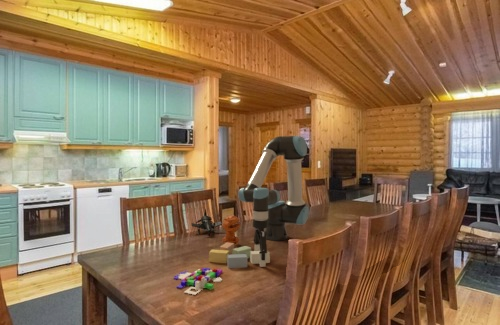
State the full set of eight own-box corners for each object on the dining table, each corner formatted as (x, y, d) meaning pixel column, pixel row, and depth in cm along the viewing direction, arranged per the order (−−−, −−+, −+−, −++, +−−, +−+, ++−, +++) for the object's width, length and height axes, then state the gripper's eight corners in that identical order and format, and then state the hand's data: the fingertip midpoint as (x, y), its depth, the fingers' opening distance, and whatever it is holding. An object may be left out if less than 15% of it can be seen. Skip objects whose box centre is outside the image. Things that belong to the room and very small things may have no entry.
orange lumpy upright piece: (238, 248, 176) (238, 217, 175) (219, 247, 178) (219, 216, 177) (242, 243, 187) (242, 213, 186) (224, 241, 189) (225, 212, 188)
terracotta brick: (226, 251, 172) (226, 242, 171) (234, 252, 170) (234, 243, 170) (219, 256, 163) (219, 246, 163) (227, 257, 162) (227, 247, 161)
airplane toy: (218, 229, 220) (218, 207, 219) (225, 236, 202) (225, 212, 201) (190, 230, 214) (190, 208, 213) (194, 238, 195) (194, 214, 195)
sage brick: (245, 255, 166) (245, 245, 166) (251, 257, 162) (251, 247, 162) (232, 258, 160) (232, 249, 160) (237, 261, 156) (237, 251, 156)
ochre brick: (228, 260, 157) (229, 250, 157) (226, 263, 153) (226, 253, 153) (211, 259, 159) (211, 249, 159) (208, 262, 155) (209, 252, 154)
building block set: (192, 267, 148) (192, 258, 148) (231, 275, 140) (231, 265, 140) (157, 288, 125) (157, 277, 125) (201, 298, 117) (202, 287, 117)
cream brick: (267, 260, 159) (267, 250, 159) (269, 263, 154) (269, 253, 154) (250, 261, 157) (250, 251, 157) (252, 264, 152) (252, 254, 152)
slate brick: (245, 264, 153) (245, 254, 152) (247, 267, 148) (247, 257, 148) (227, 265, 151) (227, 254, 151) (228, 268, 147) (228, 257, 146)
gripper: (248, 214, 166) (248, 253, 167) (258, 225, 142) (257, 271, 142) (262, 214, 168) (261, 253, 168) (274, 224, 143) (273, 270, 144)
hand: (259, 261), depth 155 cm, fingers open, 13 cm apart
